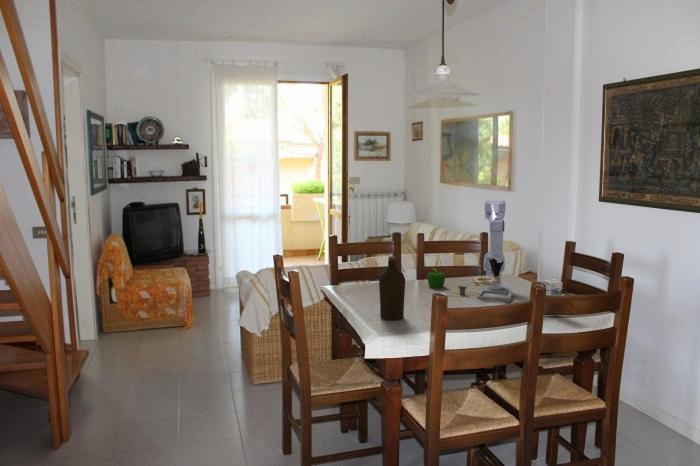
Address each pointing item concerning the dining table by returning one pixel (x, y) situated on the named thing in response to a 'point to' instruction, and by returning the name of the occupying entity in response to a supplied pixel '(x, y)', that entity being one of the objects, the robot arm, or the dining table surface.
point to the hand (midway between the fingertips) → (495, 275)
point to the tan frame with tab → (486, 280)
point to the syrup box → (553, 287)
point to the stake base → (467, 294)
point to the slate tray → (495, 297)
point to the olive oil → (392, 292)
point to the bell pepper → (436, 279)
